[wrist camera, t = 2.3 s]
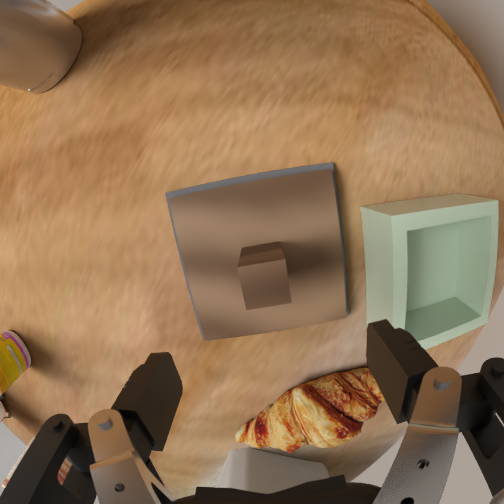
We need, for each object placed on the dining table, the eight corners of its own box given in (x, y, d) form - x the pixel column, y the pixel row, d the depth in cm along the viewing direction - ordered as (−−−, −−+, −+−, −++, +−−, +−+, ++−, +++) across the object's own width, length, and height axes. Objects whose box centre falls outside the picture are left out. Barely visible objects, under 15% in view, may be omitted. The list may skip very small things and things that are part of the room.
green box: (360, 206, 22) (390, 215, 16) (459, 193, 21) (498, 200, 16) (366, 327, 25) (388, 361, 19) (456, 300, 24) (486, 323, 19)
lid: (172, 197, 22) (144, 204, 16) (328, 169, 21) (352, 166, 15) (207, 334, 25) (194, 374, 19) (343, 312, 24) (364, 348, 18)
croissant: (250, 421, 33) (262, 470, 27) (208, 408, 27) (220, 472, 21) (392, 359, 30) (417, 409, 24) (389, 329, 24) (425, 397, 18)
